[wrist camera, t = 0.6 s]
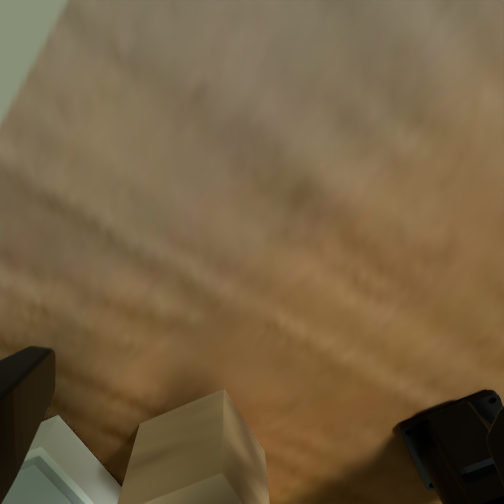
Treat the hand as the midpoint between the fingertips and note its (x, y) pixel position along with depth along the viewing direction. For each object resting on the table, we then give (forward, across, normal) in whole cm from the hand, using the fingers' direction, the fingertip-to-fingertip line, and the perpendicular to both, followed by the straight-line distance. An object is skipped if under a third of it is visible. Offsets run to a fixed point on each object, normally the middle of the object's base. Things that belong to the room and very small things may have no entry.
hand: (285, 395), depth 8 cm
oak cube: (+14, +1, +16) cm, 21 cm away
